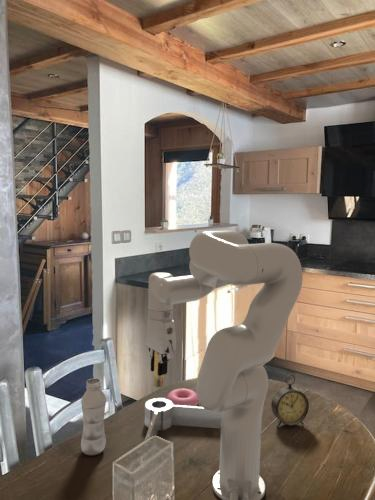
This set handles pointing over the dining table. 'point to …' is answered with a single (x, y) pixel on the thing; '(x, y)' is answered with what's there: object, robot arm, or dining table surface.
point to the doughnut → (183, 397)
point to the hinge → (177, 416)
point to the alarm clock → (290, 405)
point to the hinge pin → (157, 379)
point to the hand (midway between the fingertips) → (158, 371)
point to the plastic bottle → (93, 418)
